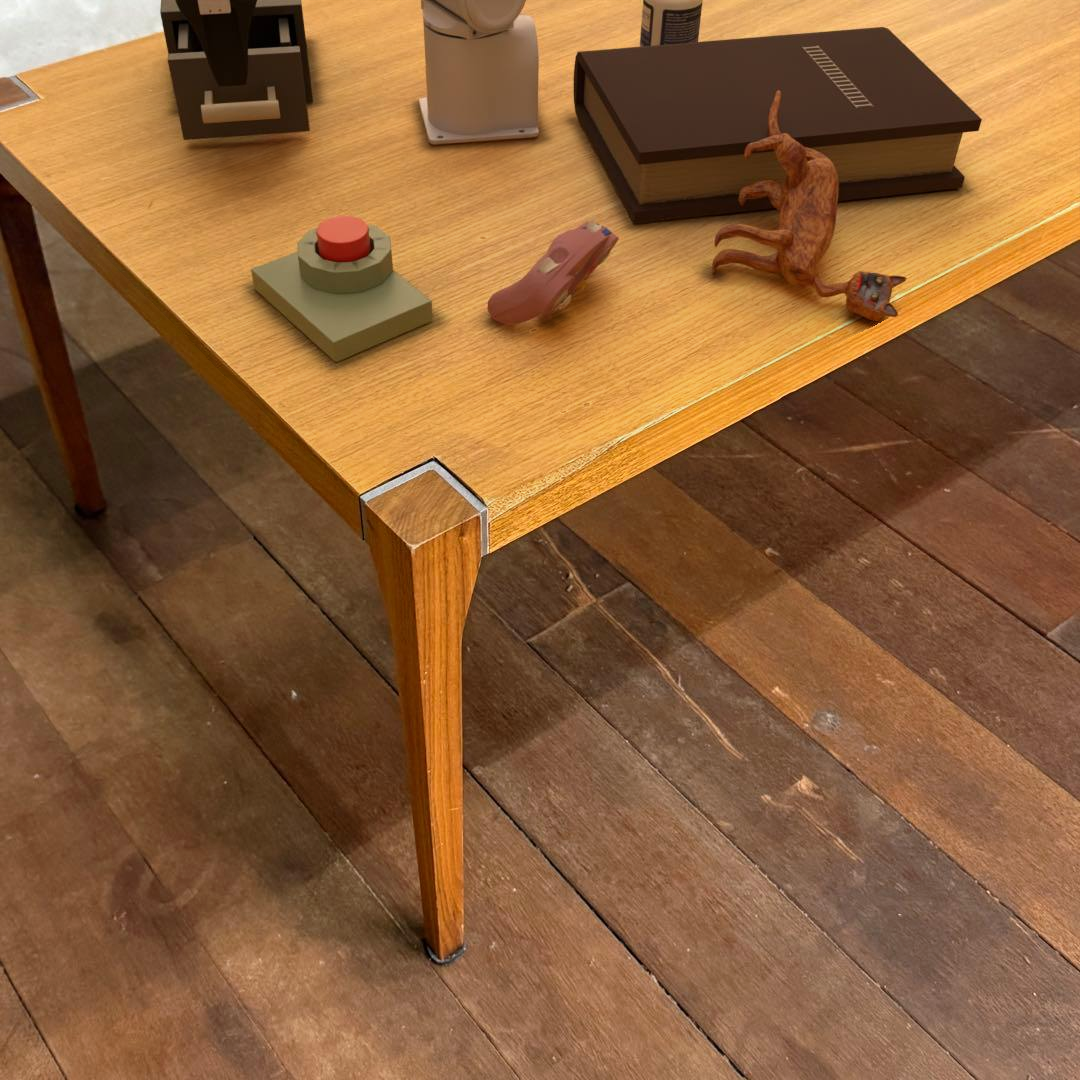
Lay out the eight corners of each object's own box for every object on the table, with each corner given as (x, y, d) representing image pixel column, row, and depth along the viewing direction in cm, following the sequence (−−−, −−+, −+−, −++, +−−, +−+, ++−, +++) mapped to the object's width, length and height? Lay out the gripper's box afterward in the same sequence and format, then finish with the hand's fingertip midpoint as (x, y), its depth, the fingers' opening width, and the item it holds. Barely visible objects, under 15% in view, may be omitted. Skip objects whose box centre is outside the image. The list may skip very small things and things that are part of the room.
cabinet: (313, 102, 108) (301, 4, 102) (179, 111, 106) (159, 12, 100) (305, 43, 116) (294, -51, 110) (182, 50, 115) (163, -45, 109)
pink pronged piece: (526, 356, 85) (567, 295, 79) (477, 313, 85) (515, 249, 79) (596, 290, 91) (640, 229, 85) (551, 249, 91) (591, 185, 85)
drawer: (312, 155, 99) (303, 74, 94) (183, 165, 98) (166, 83, 93) (302, 72, 110) (293, -5, 105) (185, 79, 109) (170, 2, 104)
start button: (309, 248, 86) (306, 226, 84) (352, 231, 87) (350, 209, 86) (336, 270, 84) (334, 248, 82) (380, 253, 85) (378, 231, 84)
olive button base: (254, 289, 87) (246, 246, 85) (356, 249, 91) (352, 207, 89) (335, 363, 81) (330, 319, 79) (441, 317, 85) (439, 274, 83)
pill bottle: (705, 64, 115) (718, -43, 108) (678, 85, 112) (690, -24, 105) (655, 50, 117) (664, -56, 110) (627, 70, 114) (635, -38, 107)
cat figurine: (767, 56, 90) (953, 91, 88) (759, 117, 96) (932, 151, 94) (707, 256, 84) (904, 299, 82) (702, 307, 90) (885, 348, 88)
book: (864, 83, 112) (878, 18, 108) (961, 187, 99) (981, 119, 95) (572, 109, 107) (575, 43, 103) (633, 223, 94) (639, 152, 90)
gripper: (141, -157, 85) (178, 36, 95) (132, -85, 75) (175, 122, 85) (243, -160, 86) (270, 30, 96) (247, -90, 76) (277, 115, 86)
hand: (231, 73), depth 91 cm, fingers open, 3 cm apart
